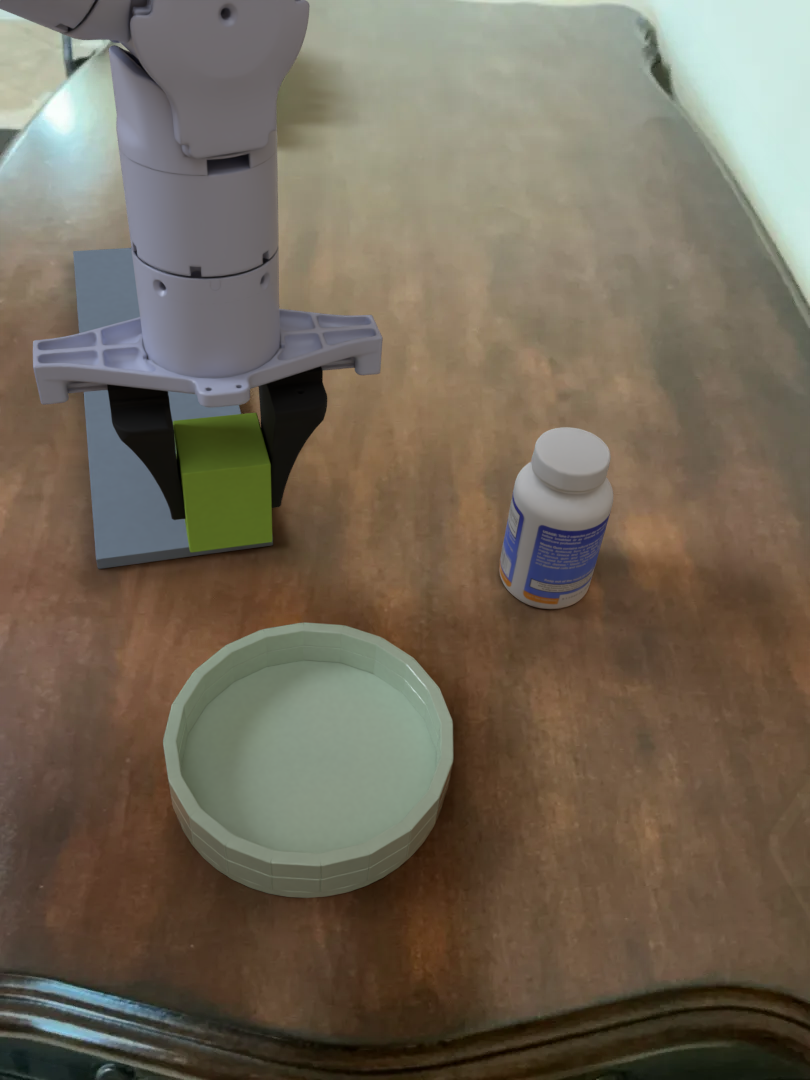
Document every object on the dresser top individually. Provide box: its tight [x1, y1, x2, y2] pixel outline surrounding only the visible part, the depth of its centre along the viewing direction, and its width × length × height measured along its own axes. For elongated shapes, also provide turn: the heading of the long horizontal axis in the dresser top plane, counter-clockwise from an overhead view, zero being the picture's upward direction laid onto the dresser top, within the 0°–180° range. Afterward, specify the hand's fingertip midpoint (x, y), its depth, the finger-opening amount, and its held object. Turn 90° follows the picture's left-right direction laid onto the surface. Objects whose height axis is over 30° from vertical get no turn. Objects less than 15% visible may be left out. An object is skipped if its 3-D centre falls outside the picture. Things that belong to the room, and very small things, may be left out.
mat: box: [72, 247, 274, 570], centre depth 68 cm, size 36×10×1 cm, turn 16°
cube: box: [173, 412, 273, 553], centre depth 47 cm, size 4×4×5 cm
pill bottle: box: [498, 426, 614, 610], centre depth 54 cm, size 5×5×10 cm
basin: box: [162, 621, 454, 899], centre depth 46 cm, size 13×13×3 cm
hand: (223, 500), depth 48 cm, fingers closed on cube, 4 cm apart
